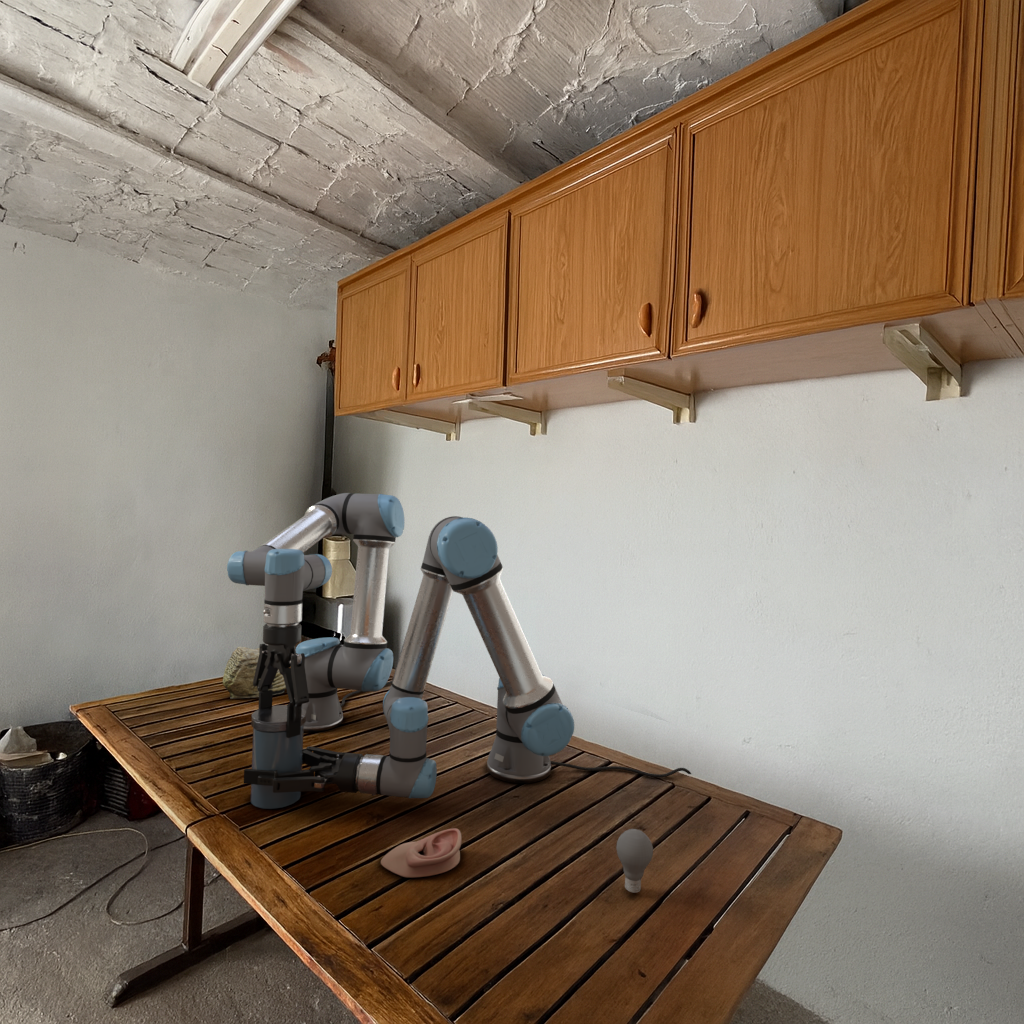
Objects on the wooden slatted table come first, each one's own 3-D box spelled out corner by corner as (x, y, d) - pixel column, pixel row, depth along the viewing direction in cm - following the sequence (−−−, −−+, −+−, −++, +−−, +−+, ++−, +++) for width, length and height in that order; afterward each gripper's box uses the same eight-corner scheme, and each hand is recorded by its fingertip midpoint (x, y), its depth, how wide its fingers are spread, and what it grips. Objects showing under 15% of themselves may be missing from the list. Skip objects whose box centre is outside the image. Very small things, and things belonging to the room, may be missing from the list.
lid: (286, 710, 140) (287, 701, 140) (316, 722, 133) (316, 713, 133) (240, 722, 131) (241, 713, 131) (270, 736, 125) (270, 726, 125)
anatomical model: (374, 849, 108) (399, 816, 119) (373, 872, 108) (398, 837, 119) (448, 861, 105) (467, 826, 116) (447, 885, 105) (466, 848, 116)
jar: (308, 788, 137) (311, 709, 137) (290, 810, 127) (293, 725, 127) (263, 785, 138) (266, 707, 138) (241, 807, 128) (244, 723, 128)
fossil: (218, 695, 195) (220, 647, 195) (278, 685, 208) (279, 640, 207) (228, 703, 189) (230, 653, 188) (289, 692, 201) (290, 645, 201)
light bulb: (610, 879, 108) (613, 822, 108) (644, 879, 109) (647, 822, 109) (619, 902, 102) (622, 840, 102) (655, 901, 103) (658, 840, 103)
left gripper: (238, 617, 137) (234, 718, 137) (296, 635, 122) (292, 749, 122) (270, 613, 142) (267, 710, 143) (330, 630, 127) (325, 739, 128)
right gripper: (341, 818, 120) (228, 808, 122) (376, 768, 142) (280, 760, 144) (342, 779, 120) (229, 770, 122) (377, 735, 142) (282, 728, 144)
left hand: (278, 728), depth 132 cm, fingers closed on lid, 11 cm apart
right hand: (257, 765), depth 133 cm, fingers closed on jar, 10 cm apart
